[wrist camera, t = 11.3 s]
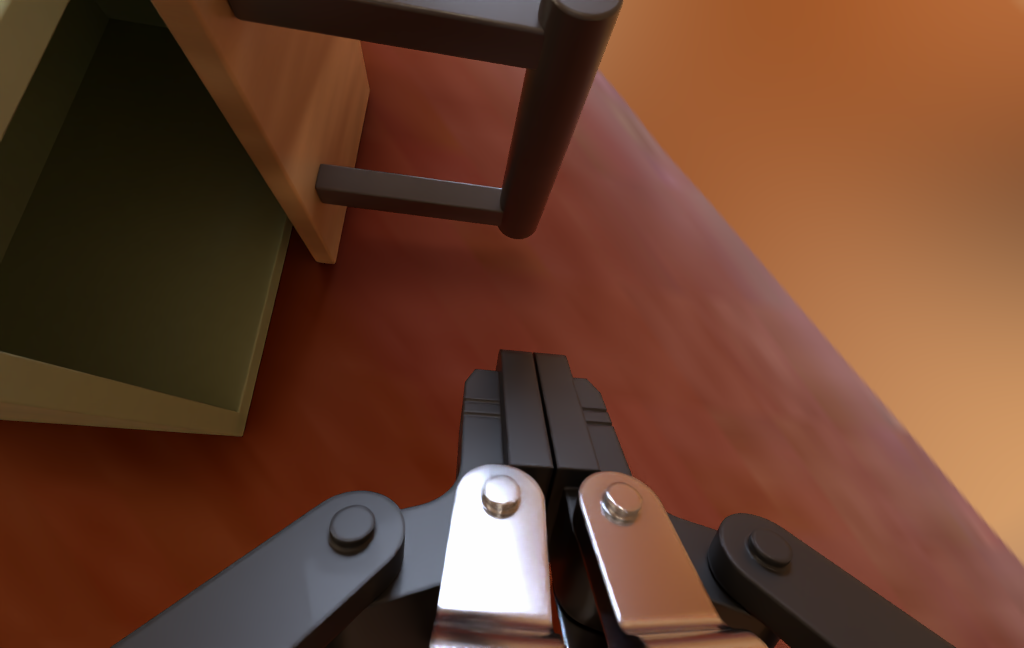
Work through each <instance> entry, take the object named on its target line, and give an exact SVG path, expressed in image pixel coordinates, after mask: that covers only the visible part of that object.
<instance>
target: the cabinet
mask: <svg viewBox="0 0 1024 648" xmlns="http://www.w3.org/2000/svg"><path fill="white" fill-rule="evenodd" d="M292 226H293V224H292V223H291V221H290V220H289V218H288V217H287V215H286V213H285V212H284V210H283V209H282V207H281V206H280V204H279V202H278V201H277V199H276V198H275V196H274V194H273V193H272V191H271V190H270V188H269V187H268V185H267V183H266V182H265V180H264V179H263V177H262V176H261V174H260V172H259V171H258V169H257V168H256V166H255V165H254V163H253V161H252V160H251V158H250V157H249V155H248V153H247V152H246V150H245V149H244V147H243V146H242V144H241V142H240V141H239V139H238V138H237V136H236V135H235V133H234V131H233V130H232V128H231V127H230V125H229V124H228V122H227V120H226V119H225V117H224V116H223V114H222V112H221V111H220V109H219V108H218V106H217V105H216V103H215V101H214V100H213V98H212V97H211V95H210V94H209V92H208V90H207V89H206V87H205V86H204V84H203V82H202V81H201V79H200V78H199V76H198V75H197V73H196V71H195V70H194V68H193V67H192V65H191V64H190V62H189V60H188V59H187V57H186V56H185V54H184V53H183V51H182V49H181V48H180V46H179V45H178V43H177V41H176V40H175V38H174V37H173V35H172V34H171V32H170V30H169V29H168V27H167V26H166V24H165V23H164V21H163V19H162V18H161V16H160V15H159V13H158V11H157V10H156V8H155V7H154V5H153V4H152V2H151V0H0V420H13V421H27V422H41V423H55V424H69V425H83V426H97V427H112V428H126V429H140V430H154V431H168V432H182V433H197V434H211V435H225V436H239V437H241V436H243V432H244V428H245V424H246V420H247V416H248V411H249V407H250V403H251V399H252V395H253V390H254V386H255V382H256V378H257V374H258V369H259V365H260V361H261V357H262V353H263V348H264V344H265V340H266V336H267V332H268V327H269V323H270V319H271V315H272V310H273V306H274V302H275V298H276V294H277V289H278V285H279V281H280V277H281V273H282V268H283V264H284V260H285V256H286V252H287V247H288V243H289V239H290V235H291V231H292Z"/></svg>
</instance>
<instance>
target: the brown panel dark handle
mask: <svg viewBox="0 0 1024 648" xmlns="http://www.w3.org/2000/svg"><path fill="white" fill-rule="evenodd" d="M151 2H152V4H153V5H154V7H155V8H156V10H157V11H158V13H159V15H160V16H161V18H162V19H163V21H164V23H165V24H166V26H167V27H168V29H169V30H170V32H171V34H172V35H173V37H174V38H175V40H176V41H177V43H178V45H179V46H180V48H181V49H182V51H183V53H184V54H185V56H186V57H187V59H188V60H189V62H190V64H191V65H192V67H193V68H194V70H195V71H196V73H197V75H198V76H199V78H200V79H201V81H202V82H203V84H204V86H205V87H206V89H207V90H208V92H209V94H210V95H211V97H212V98H213V100H214V101H215V103H216V105H217V106H218V108H219V109H220V111H221V112H222V114H223V116H224V117H225V119H226V120H227V122H228V124H229V125H230V127H231V128H232V130H233V131H234V133H235V135H236V136H237V138H238V139H239V141H240V142H241V144H242V146H243V147H244V149H245V150H246V152H247V153H248V155H249V157H250V158H251V160H252V161H253V163H254V165H255V166H256V168H257V169H258V171H259V172H260V174H261V176H262V177H263V179H264V180H265V182H266V183H267V185H268V187H269V188H270V190H271V191H272V193H273V194H274V196H275V198H276V199H277V201H278V202H279V204H280V206H281V207H282V209H283V210H284V212H285V213H286V215H287V217H288V218H289V220H290V221H291V223H292V224H293V226H294V228H295V229H296V231H297V232H298V234H299V236H300V237H301V239H302V240H303V242H304V243H305V245H306V247H307V248H308V250H309V251H310V253H311V254H312V256H313V258H314V259H315V261H316V262H321V263H330V264H335V262H336V258H337V253H338V248H339V243H340V238H341V233H342V228H343V223H344V218H345V213H346V208H347V207H355V208H363V209H371V210H379V211H386V212H394V213H402V214H410V215H418V216H425V217H433V218H441V219H449V220H457V221H465V222H472V223H480V224H488V225H496V226H498V228H499V229H500V230H501V232H502V233H503V234H505V235H506V236H508V237H510V238H513V239H524V238H527V237H529V236H530V235H532V234H533V233H534V232H535V230H536V228H537V226H538V223H539V220H540V218H541V215H542V213H543V210H544V207H545V205H546V202H547V200H548V197H549V194H550V192H551V189H552V187H553V184H554V182H555V179H556V176H557V174H558V171H559V169H560V166H561V163H562V161H563V158H564V156H565V153H566V150H567V148H568V145H569V143H570V140H571V137H572V135H573V132H574V130H575V127H576V124H577V122H578V119H579V117H580V114H581V111H582V109H583V106H584V104H585V101H586V98H587V96H588V93H589V91H590V88H591V85H592V83H593V80H594V78H595V75H596V72H597V70H598V67H599V64H600V62H601V59H602V57H603V54H604V52H605V49H606V46H607V44H608V41H609V39H610V36H611V33H612V31H613V28H614V26H615V23H616V20H617V18H618V15H619V12H620V10H621V7H622V4H623V0H151ZM360 40H361V41H367V42H372V43H378V44H384V45H390V46H396V47H402V48H408V49H414V50H420V51H426V52H432V53H438V54H444V55H450V56H456V57H462V58H467V59H473V60H479V61H485V62H491V63H497V64H503V65H509V66H515V67H521V68H526V73H525V78H524V83H523V88H522V92H521V97H520V102H519V107H518V112H517V117H516V122H515V127H514V132H513V136H512V141H511V146H510V151H509V156H508V161H507V166H506V171H505V176H504V180H503V185H502V188H496V187H488V186H481V185H474V184H466V183H459V182H452V181H445V180H437V179H430V178H423V177H416V176H408V175H401V174H394V173H386V172H379V171H372V170H365V169H357V168H355V163H356V158H357V153H358V148H359V143H360V138H361V133H362V128H363V123H364V118H365V113H366V108H367V103H368V98H369V93H370V88H369V83H368V78H367V73H366V68H365V63H364V58H363V53H362V48H361V43H360Z"/></svg>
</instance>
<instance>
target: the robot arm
mask: <svg viewBox="0 0 1024 648" xmlns="http://www.w3.org/2000/svg"><path fill="white" fill-rule="evenodd" d="M606 410H607V409H606V406H605V404H604V401H603V399H602V396H601V393H600V392H599V391H598V390H597V389H596V388H595V387H594V386H593V385H592V384H591V383H590V382H589V381H588V380H587V379H583V378H573V377H572V374H571V371H570V367H569V364H568V361H567V358H566V356H565V355H556V354H545V353H535V352H534V353H533V354H532V352H523V351H512V350H501V349H500V351H499V354H498V360H497V366H496V371H491V370H479V369H475V370H474V372H473V373H472V374H471V375H470V377H469V378H468V379H467V380H466V382H465V388H464V396H463V405H462V413H461V422H460V431H459V442H458V457H457V472H456V482H455V483H454V485H453V486H452V487H451V488H450V489H449V491H447V492H446V493H445V494H444V495H442V496H441V497H439V498H437V499H436V500H433V501H431V502H429V503H425V504H422V505H418V506H414V507H410V508H405V509H401V510H400V508H399V507H398V506H397V504H395V503H394V502H393V501H392V500H391V499H389V498H388V497H386V496H384V495H382V494H379V493H375V492H371V491H351V492H346V493H342V494H339V495H336V496H334V497H331V498H329V499H327V500H326V501H324V502H322V503H321V504H319V505H318V506H316V507H315V508H313V509H312V510H310V511H309V512H308V513H306V514H305V515H303V516H302V517H300V518H299V519H297V520H296V521H294V522H293V523H291V524H290V525H289V526H287V527H286V528H284V529H283V530H281V531H280V532H278V533H277V534H275V535H274V536H272V537H271V538H270V539H268V540H267V541H265V542H264V543H262V544H261V545H259V546H258V547H256V548H255V549H253V550H252V551H251V552H249V553H248V554H246V555H245V556H243V557H242V558H240V559H239V560H237V561H236V562H234V563H233V564H232V565H230V566H229V567H227V568H226V569H224V570H223V571H221V572H220V573H218V574H217V575H215V576H214V577H213V578H211V579H210V580H208V581H207V582H205V583H204V584H202V585H201V586H199V587H198V588H196V589H195V590H194V591H192V592H191V593H189V594H188V595H186V596H185V597H183V598H182V599H180V600H179V601H177V602H176V603H175V604H173V605H172V606H170V607H169V608H167V609H166V610H164V611H163V612H161V613H160V614H158V615H157V616H156V617H154V618H153V619H151V620H150V621H148V622H147V623H145V624H144V625H142V626H141V627H140V628H138V629H137V630H135V631H134V632H132V633H131V634H129V635H128V636H126V637H125V638H123V639H122V640H121V641H119V642H118V643H116V644H115V645H113V646H112V647H110V648H774V647H775V645H776V644H777V642H778V641H779V640H780V639H782V640H783V641H784V642H785V643H786V644H788V645H789V646H790V647H791V648H956V647H954V646H953V645H951V644H950V643H949V642H947V641H946V640H944V639H943V638H941V637H940V636H938V635H937V634H935V633H934V632H933V631H931V630H930V629H928V628H927V627H925V626H924V625H922V624H921V623H920V622H918V621H917V620H915V619H914V618H912V617H911V616H909V615H908V614H906V613H905V612H904V611H902V610H901V609H899V608H898V607H896V606H895V605H893V604H892V603H891V602H889V601H888V600H886V599H885V598H883V597H882V596H880V595H879V594H878V593H876V592H875V591H873V590H872V589H870V588H869V587H867V586H866V585H864V584H863V583H862V582H860V581H859V580H857V579H856V578H854V577H853V576H851V575H850V574H849V573H847V572H846V571H844V570H843V569H841V568H840V567H838V566H837V565H835V564H834V563H833V562H831V561H830V560H828V559H827V558H825V557H824V556H822V555H821V554H820V553H818V552H817V551H815V550H814V549H812V548H811V547H809V546H808V545H806V544H805V543H804V542H802V541H801V540H799V539H798V538H796V537H795V536H793V535H792V534H791V533H789V532H788V531H786V530H785V529H783V528H782V527H780V526H778V525H777V524H775V523H773V522H771V521H769V520H767V519H764V518H762V517H759V516H756V515H752V514H745V513H738V514H733V515H730V516H728V517H726V518H725V519H724V520H723V521H722V523H721V525H720V527H719V529H718V530H714V529H711V528H708V527H705V526H702V525H699V524H696V523H693V522H690V521H687V520H684V519H681V518H678V517H676V516H673V515H671V514H669V513H667V512H666V511H665V509H664V507H663V505H662V503H661V502H660V500H659V498H658V497H657V496H656V494H655V493H654V492H653V491H652V490H651V489H650V488H649V487H648V486H646V485H645V484H644V483H642V482H641V481H639V480H638V479H636V478H634V477H632V475H631V472H630V469H629V467H628V464H627V461H626V459H625V456H624V454H623V451H622V448H621V446H620V443H619V440H618V438H617V435H616V433H615V430H614V427H613V426H612V422H611V420H610V417H609V414H608V413H607V412H606ZM548 562H550V564H551V571H552V578H553V581H552V584H551V588H550V580H549V563H548Z"/></svg>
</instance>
